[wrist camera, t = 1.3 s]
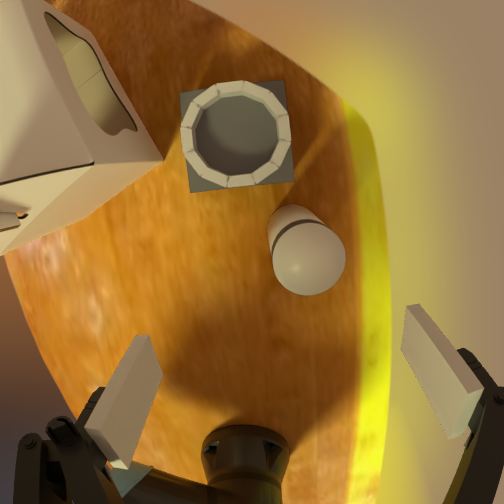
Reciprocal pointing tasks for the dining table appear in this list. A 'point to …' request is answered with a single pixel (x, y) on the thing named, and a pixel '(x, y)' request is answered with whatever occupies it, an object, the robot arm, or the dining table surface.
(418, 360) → the robot arm
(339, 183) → the dining table surface
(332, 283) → the beige rounded cylinder
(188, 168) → the grey socket block
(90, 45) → the gable box
